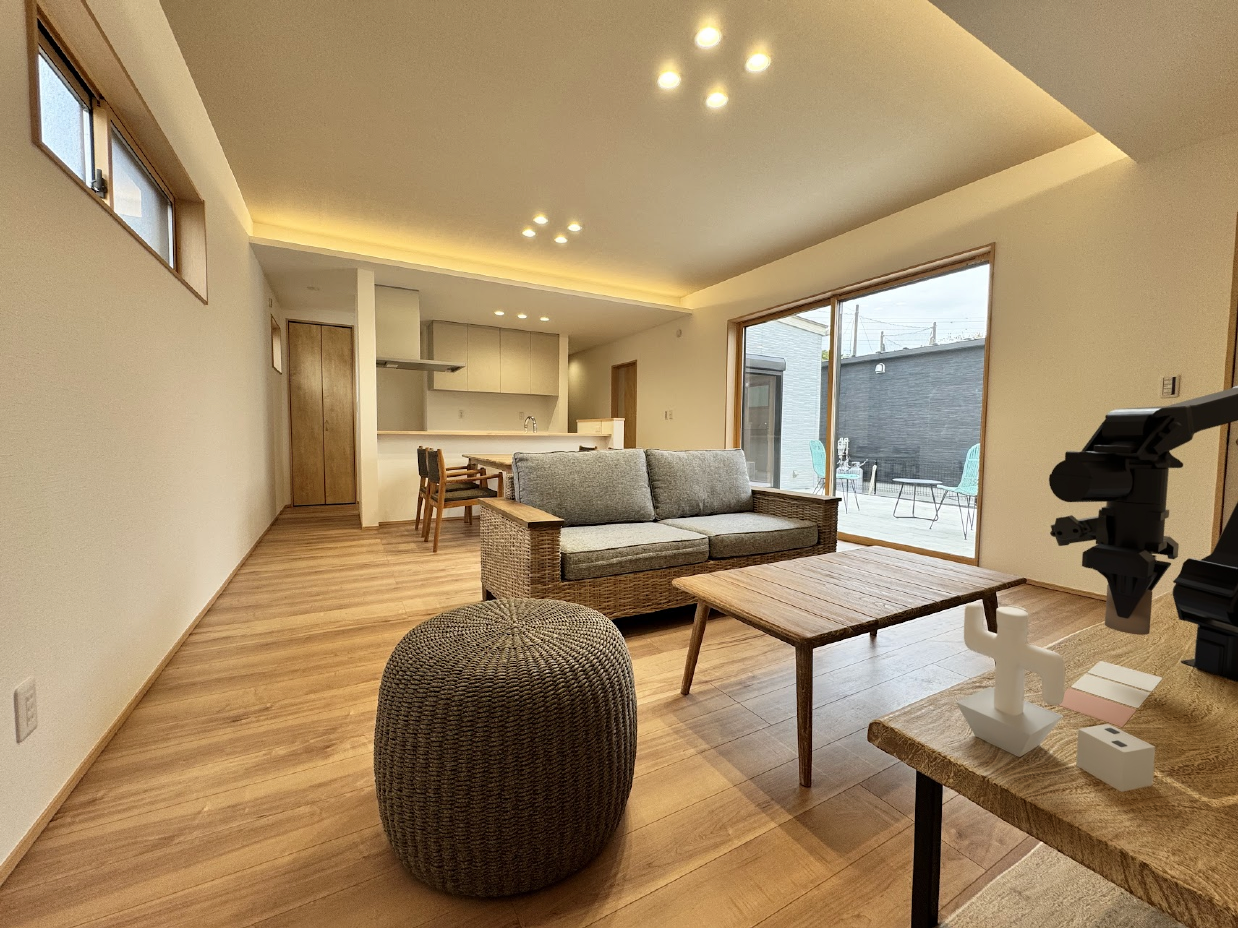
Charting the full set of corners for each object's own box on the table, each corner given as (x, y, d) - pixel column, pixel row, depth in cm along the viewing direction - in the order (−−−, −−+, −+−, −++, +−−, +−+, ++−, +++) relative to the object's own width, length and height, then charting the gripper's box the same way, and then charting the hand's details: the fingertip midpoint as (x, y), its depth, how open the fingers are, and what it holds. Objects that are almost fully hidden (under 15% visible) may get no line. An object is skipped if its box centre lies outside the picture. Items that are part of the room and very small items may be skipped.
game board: (1094, 660, 77) (1094, 657, 77) (1172, 681, 71) (1172, 678, 71) (1041, 705, 65) (1041, 701, 65) (1129, 736, 58) (1130, 732, 58)
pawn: (1120, 621, 74) (1123, 568, 73) (1158, 633, 69) (1162, 577, 69) (1096, 623, 73) (1099, 570, 72) (1133, 635, 68) (1137, 579, 68)
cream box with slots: (1105, 760, 54) (1108, 722, 54) (1152, 785, 50) (1155, 745, 50) (1076, 765, 53) (1078, 727, 53) (1121, 792, 50) (1123, 751, 49)
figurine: (1041, 775, 52) (1049, 629, 51) (944, 727, 60) (949, 601, 59) (1074, 753, 55) (1082, 616, 54) (978, 711, 63) (983, 591, 62)
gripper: (1080, 490, 82) (1074, 587, 83) (1037, 499, 71) (1030, 610, 72) (1183, 498, 73) (1174, 606, 74) (1151, 510, 62) (1142, 636, 63)
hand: (1127, 613), depth 71 cm, fingers closed on pawn, 4 cm apart
